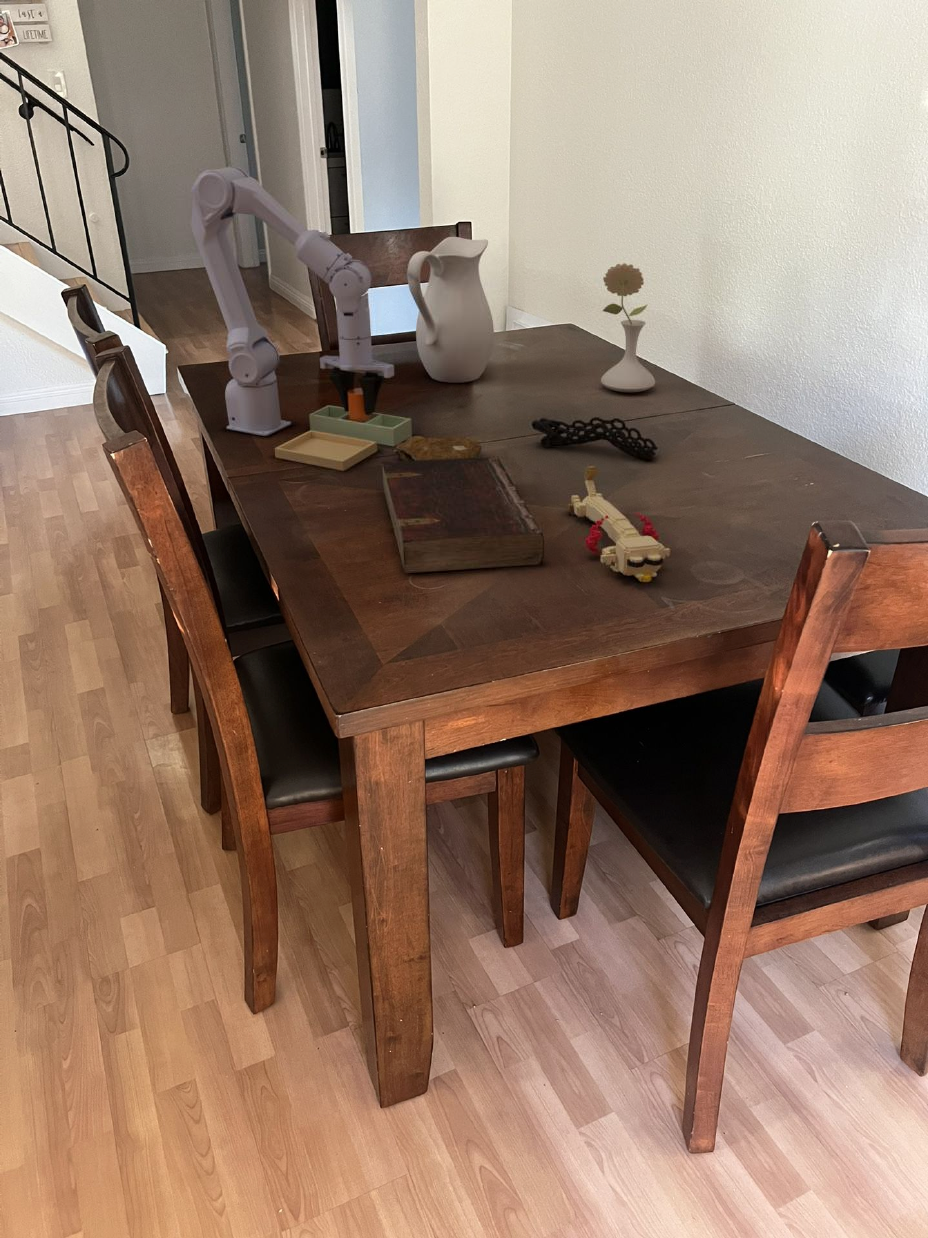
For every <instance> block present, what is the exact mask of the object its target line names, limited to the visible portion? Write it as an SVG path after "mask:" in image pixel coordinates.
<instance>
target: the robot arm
mask: <svg viewBox="0 0 928 1238" xmlns="http://www.w3.org/2000/svg"><path fill="white" fill-rule="evenodd" d="M190 194H191V196H192V213H191V231H192V234H193V237H194V240H195V243H196V246H197V249H198V250H199V255H200V256H201V259H202V262H203V264H204V267H205V270H206V273H207V276H208V279H209V282H210V284H211V287H212V289H213V292H214V296H215V298H216V301H217V303H218V307H219V309H220V312H221V314H222V317H223V321H224V323H225V325H226V327H227V328H226V329H227V331H228V336H227V340H226V345H225V346H226V351H227V354H228V370H229V373H230V375H231V377H233V378H232V379H230V381H229V382H228V383H227V384H226V387H225V390H224V391H225V392H224V398H225V405H226V413H227V420H228V425H227V426H226V430H230V431H236V432H241V433H246V434H251V435H257V436H263V437H268V436H270V435H273V434H274V433H276V432H279V431H281V430H283V429H285V428H286V427H289V426H291V425H292V421H289V420H283V419H282V417H281V416H282V415H281V409H280V399H279V390H278V382H277V381H278V380H277V375H276V369H277V367H278V366H279V363H280V353H279V350H278V348H277V346H276V345H275V344H274V343H273V342H272V341H271V339H270V338H269V335H268V333H267V330H266V329H265V328H264V327H263V326H261V325H260V324H259V323H258V320H257V318H256V314H255V312H254V309H253V306H252V302H251V301H250V297H249V294H248V292H247V288H246V286H245V283H244V280H243V277H242V274H241V271H240V268H239V265H238V263H237V260H236V257H235V252H234V250H233V249H232V245H231V242H230V239H229V236H228V233H227V231H228V228H229V227H230V225H231V223H232V221H233V219H234V217H235V215H236V214H240V215H249V216H250V215H252V216H255V217H256V218H258V219H259V220H260V221H262V222H263V223H264V224H265V225H267V226H268V227H269V228H271V230H273V231H274V232H275V233H277V234H278V235H280V236H281V237H282V238H283V239H285V240H286V241H288V242H289V243H290V244H291V245H293V247H294V250H295V255H296V258H297V259H298V260H299V261H300V262H301V263H303V264H304V265H305V266H306V267H307V268H309V270H310V271H312V272H313V273H314V274H315V275H316V276H318V277H319V278H320V279H321V280H322V281H324V282H325V283H326V284H328V288H329V291H330V292H331V295H332V296H333V298H335V305H336V306H335V307H336V309H335V310H336V311H335V312H336V324H337V339H338V351H339V355H323V356H321V357H319V368H320V369H322V370H325V369H331V370H332V372H331V373H329V380H330V381H331V382H332V384H333V386H334V387H335V389H336V391H337V393H338V395H339V397H340V400H341V403H342V406H343V408H344V410H345V411H347V412H348V411H349V409H348V395H347V391H348V390H350V389H355V388H354V385H355V376H356V373H358V374H364V375H363V376H361V377H358V383H359V385H360V388H362V392H363V397H364V409H365V414H366V415H370V414H372V413H376V412H375V411H376V405H377V400H378V396H379V393H380V390H381V387H382V385H383V383H384V381H385V379H391V378H392V377H394V376H395V365H394V364H391V363H387V362H383V361H380V360H377V359H374V358H373V354H372V353H373V350H372V349H373V348H372V331H371V330H372V329H371V314H370V313H371V311H370V306H369V293H368V291H369V290H370V288H371V285H372V274H371V271H370V270H369V268H368V267H367V266H366V264H365V263H364V261H362V260H358V259H353V256H352V255H351V254H350V253H348V252H347V253H345V252H344V251H342V250H341V249H340V247H338V246H337V245H336V244H334V243H333V242H332V241H331V240H330V238H331V235H330V234H329V233H327V232H326V231H322V232H321V231H319V229H311V230H310V229H306V227H304V226H303V225H302V224H301V223H300V222H299V221H298V220H297V219H296V218H295V217H294V216H293V215H292V214H291V213H289V212H288V210H287V209H285V207H283V206H282V205H281V203H279V202H278V201H277V200H276V199H275V198H274V197H273V195H271V194H270V193H269V192H267V190H265V188H264V187H263V186H262V185H261V184H260V182H259V181H258V180H257V179H255V178H254V177H252V176H249V174H247V172H246V171H245V170H244V169H242V168H241V167H240V166H236V165H229V166H226V167H223V168H217V169H206V170H205V171H202V172H201V173H200V174H199V175H198V176H197V178H196V180H195V181H194V184H193V186H192V187H191V189H190Z"/></svg>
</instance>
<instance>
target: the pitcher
mask: <svg viewBox="0 0 928 1238" xmlns="http://www.w3.org/2000/svg"><path fill="white" fill-rule="evenodd" d="M488 245H489V240H488V239H469V238H464V237H459V236H448V237H446V238H444V239H443V240H441V242H439V243H438V244H437V245H436V246H435V247H434V248H433V249H432V250H431V251H428V250H427V251H426V250H421V251H417V252H416V253H414V254H413V255H412V256H411V258H410V260H409V261H408V265H407V271H406V273H407V275H406V276H407V283H408V288H409V292H410V294H411V297H412V298H413V300H414V303H415V304H416V307H417V308H418V314H417V319H416V327H415V328H416V329H415V338H416V339H415V340H416V347H417V352H418V356H419V359H420V361H421V363H422V365H423V367H424V369H425V371H426V372H427V373H428V375H429V377H431V379H433V380H434V381H435V380H436V381H438V382H440V383H441V382H442V383H448V384H449V383H452V384H457V383H458V384H460V383H462V384H463V383H469V382H473V381H475V380H478V379H479V378H481V376H482V375H483V373H484V371H485V370H486V368H487V365H488V363H489V362H490V359H491V356H492V353H493V348H494V341H495V340H494V339H495V329H494V328H495V327H494V320H493V315H492V310H491V308H490V305H489V302H488V300H487V296H486V294H485V291H484V287H483V285H482V281H481V276H480V269H479V268H480V261H481V257H482V256H483V254H484V252H485V251H486V249H487V247H488ZM425 261H426V262H428V264H429V267H430V272H429V273H430V274H429V279H428V283H427V286H426V289H425V292H424V293H423V291H422V286H421V270H422V265H423V263H424V262H425ZM423 294H424V295H423Z"/></svg>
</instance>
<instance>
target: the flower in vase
mask: <svg viewBox="0 0 928 1238" xmlns="http://www.w3.org/2000/svg"><path fill="white" fill-rule="evenodd" d="M602 280H603V282H604V286H605V287H606V290H607V291H608V292H609V293H611V294H612V295H614V294H616V295H617V296H618V297H621V298H620V299H621V301H620V302H621V303H620V304H621V305H619V304H617V303H610V304H608V305H606V306H605V307H604V309H602V312H605V313H609V314H612V315H619V314H620V313H621V312H622V311H623V313H624V314H625V316H626V318H627V319H625V320H621V321H620V324H621V325H622V328H623V330H624V336H625V349H624V356H623V357H622V358H621V360H620V361H619V362H618V363H617V364H615V365H613V366H612V367H611V368H609V369H607V371H606V372H605V373H604V374H603V375H602V376H601V379H600V383H601V384H602V386H604V387H605V388H606V389H609V390H612V391H616V392H620V393H640V392H644V391H648V390H650V389H652V388H653V387H654V386H655V384H656V381H655V378H654V376H653V374H652V373H651V372H650V370H648V369H647V368H646V367H645V366H644V365H642V364H641V362H639V360H638V357H637V347H638V341H639V336H640V333H641V331H642V329H643V327H644V326H645V325H646V322H645V321H644V320H641V319H640V320H639V319H631V318H630V317H632V316H633V317H634V316H637V315H639V314H641V313H642V312H643V311H645V310H646V308H647V307H648V304H646V305H642V306H640V307H636V308H634V309H633V310H632V311H631V312H630V313H629V314H628V312H627V310H626V308H625V307H624V297H627V296H632V295H633V294H638V293H639V292H640V289H642V287H643V286H644V284H645V282H644V278H643V273H642V272H641V269H640V268H638V267H637V268H636V267H634V265H633V264H627V263H626V262H624V263H622V264H620V263H617V264H616V265H615V266H611V267H610V268H608V269H607V271H606V273H605V276H603V277H602Z"/></svg>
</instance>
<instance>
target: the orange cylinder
mask: <svg viewBox="0 0 928 1238" xmlns="http://www.w3.org/2000/svg"><path fill="white" fill-rule="evenodd" d="M347 395H348V409H349V419H350V420H352V421H366V420H369V419H370V418H371V414H370V415H366V414H365V409H364V397H363V392H362V388H361V387H357V388H356V387H355V388H354V389H350V390H348V391H347Z"/></svg>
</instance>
